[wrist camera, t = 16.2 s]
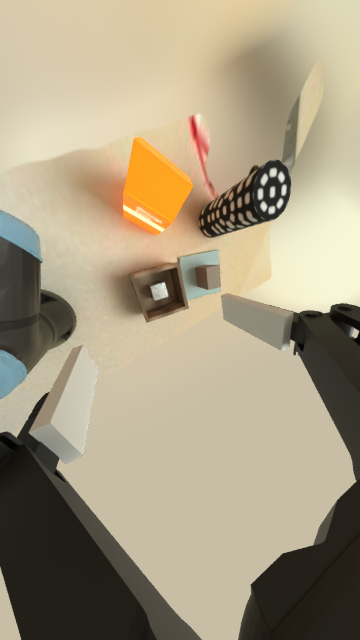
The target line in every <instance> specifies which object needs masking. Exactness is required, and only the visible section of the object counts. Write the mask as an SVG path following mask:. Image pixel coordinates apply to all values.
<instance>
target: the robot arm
mask: <svg viewBox="0 0 360 640" xmlns="http://www.w3.org/2000/svg"><path fill="white" fill-rule="evenodd" d="M41 263H43V260H42V258H41V253H40V239H39V236H38V234H37V233H36V232H35V230H34V229H33V228H31V227H30V226H29V225H28V224H26V223H25V222H23V221H21V220H20V219H18V218H16V217H14V216H12V215H10V214H8V213H6V212H4V211H2V210H0V399H2V398H3V397H5V396H7V395H8V394H9V393H10V392H11V391H12V390H13V389H15V388H16V387H17V386H18V385H19V384H21V383H22V382H23V381H24V380H25V379H26V377H27V374H28V373H29V372H30V371H31V370H32V369H33V368H34V366H35V365H36V364H37V363H38V362H39V361H40V359H41V358H42V357H43V356H44V355H45V354H46V352H47V351H48V350H50V349H52V348H55V347H57V346H59V345H61V344H63V343H64V342H65V341H67V340H68V339H69V337H70V336H71V335H72V333H73V332H74V330H75V327H76V316H75V313H74V311H73V309H72V307H71V306H70V305H69V304H68V303H67V302H66V301H65V300H64V299H63V298H61V297H60V296H58V295H56V294H54V293H52V292H49V291H46V290H42V289H41ZM221 298H222V308H223V318H224V320H226V321H228V322H230V323H231V324H233V325H235V326H237V327H238V328H240V329H242V330H244V331H246V332H248V333H250V334H251V335H253V336H255V337H257V338H259V339H261V340H263V341H264V342H266V343H268V344H270V345H271V346H273V347H275V348H277V349H279V350H281V351H282V350H284V349H286V348H288V347H289V346H290V339H291V340H293V341H295V345H294V355H296V352H298V355H299V356H300V357H301V359H302V361H303V363H304V365H305V367H306V369H307V371H308V373H309V375H310V377H311V378H312V381H313V383H314V385H315V387H316V389H317V391H318V393H319V394H320V396H321V398H322V400H323V402H324V404H325V406H326V408H327V410H328V412H329V414H330V416H331V418H332V420H333V421H334V424H335V426H336V427H337V429H338V431H339V433H340V435H341V437H342V439H343V441H344V443H345V445H346V447H347V449H348V451H349V453H350V455H351V458H352V463H353V471H354V475H355V478H356V481H357V482H356V483H354V484H353V485H352V486H351V488H349V489H348V490H347V491H346V492H345V493H344V494H343V495H342V496H341V497H340V498H339V499H338V500H337V502H336V503H335V504H334V506H333V507H332V509H331V510H330V512H329V513H328V515H327V516H326V518H325V519H324V521H323V522H322V524H321V525H320V527H319V530H318V533H317V536H316V539H315V542H314V545H313V546H309V547H305V548H302V549H298V550H294V551H291V552H287V553H283V554H282V555H281V556H280V557H279V558H278V559H277V560H276V561H275V562H274V563H273V564H271V565H270V566H269V567H268V568H267V570H265V571H264V572H263V573H262V574H261V575H260V576H259V577H258V578H257V579H256V580H255V581H254V582H253V583H252V584H251V596H250V598H249V600H248V603H247V605H246V608H245V612H244V615H243V618H242V622H241V627H240V633H239V639H238V640H360V307H358V306H355V305H349V304H343V303H341V304H335V305H332V306H331V309H330V312H329V313H322V312H319V311H302V312H300V313H296V312H293V311H289V310H286V309H281V308H279V307H275V306H272V305H267V304H263V303H260V302H256V301H253V300H249V299H246V298H242V297H239V296H235V295H232V294H228V293H227V294H224V295H221ZM354 328H355V329H357V330H359V334H358V337H357V338H354V337H352V334H353V331H354ZM97 376H98V368H97V367H96V365H95V363H94V362H93V360H92V359H91V357H90V355H89V354H88V352H87V350H86V349H85V347H84V345H81V346H78V347H76V348H73V349H72V351H71V353H70V355H69V356H68V358H67V360H66V362H65V364H64V366H63V368H62V370H61V372H60V374H59V375H58V377H57V379H56V381H55V383H54V385H53V387H52V389H51V391H50V392H48V393H46V394H45V395H44V396H43V397H42V398H41V399H40V400H39V401H38V402H37V404H36V405H35V407H34V409H33V412H32V413H31V414H30V416H29V418H28V420H27V421H26V423H25V424H24V426H23V428H22V430H21V431H20V433H19V435H18V437H17V438H16V437H15V436H13V435H12V434H11V433H9V432H2V433H0V567H1V571H2V574H3V577H4V581H5V584H6V588H7V591H8V594H9V598H10V602H11V605H12V609H13V612H14V616H15V619H16V623H17V626H18V629H19V633H20V636H21V640H202V639H201V638H200V637H199V636H198V635H197V634H196V633H195V632H194V630H193V629H192V628H191V627H190V626H189V625H188V624H187V623H185V622H184V621H183V620H182V619H181V618H180V617H179V616H178V615H177V614H176V613H175V611H174V610H173V609H172V608H171V607H170V606H169V605H168V603H167V602H166V601H165V600H164V598H163V597H162V596H161V595H160V593H159V592H158V591H157V590H156V589H155V587H154V586H153V585H152V584H151V582H150V581H149V580H148V579H147V578H146V576H145V575H144V574H143V573H142V571H141V570H140V569H139V568H138V567H137V565H136V564H135V563H134V562H133V560H132V559H131V558H130V557H129V556H128V555H127V553H126V552H125V551H124V549H123V548H122V547H121V546H120V545H119V543H118V542H117V541H116V540H115V538H114V537H113V536H112V535H111V534H110V533H109V531H108V530H107V529H106V528H105V526H104V525H103V524H102V523H101V521H100V520H99V519H98V518H97V517H96V515H95V514H94V513H93V512H92V511H91V509H90V508H89V507H88V506H87V505H86V503H85V502H84V501H83V499H81V497H80V496H79V495H78V494H77V492H76V491H75V490H74V489H73V488H72V486H71V485H70V484H69V482H68V481H67V480H66V479H65V478H64V476H63V475H62V474H61V473H60V472H59V471H58V470H57V469H56V467H57V464H58V461H59V459H60V460H62V462H64V463H65V464H68V463H70V462H72V461H73V460H75V459H77V458H79V457H81V456H83V453H84V447H85V442H86V436H87V430H88V425H89V420H90V414H91V409H92V403H93V397H94V392H95V387H96V381H97Z"/></svg>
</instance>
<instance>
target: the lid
mask: <svg viewBox="0 0 360 640" xmlns="http://www.w3.org/2000/svg"><path fill="white" fill-rule="evenodd" d="M179 264H180V269H181V274H182V279H183V283H184V288H185V293H186V298H187V300H191V299H194V298H198V297H202V296H205V295H209V294H212V293H216V292H220V291H221V282H220V266H219V250H215V251H210V252H205V253H200V254H195V255H190V256H185V257H180V258H179Z"/></svg>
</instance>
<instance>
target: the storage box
mask: <svg viewBox="0 0 360 640" xmlns="http://www.w3.org/2000/svg"><path fill="white" fill-rule="evenodd" d="M129 275H130V278H131V281H132V284H133V287H134V289H135V292H136V295H137V298H138V301H139V303H140V306H141V309H142V312H143V315H144V317H145V320H146V323H147V322H150V321H153V320H156V319H159V318H162V317H165V316H168V315H170V314H173V313H176V312H179V311H182V310H185V309H188V308H189V307H188V303H187V298H186V293H185V288H184V283H183V279H182V274H181V269H180V264H179V263H168V264H164V265H160V266H157V267H153V268H149V269H145V270H141V271H137V272H134V273H130V274H129ZM159 281H163V282H165V285H166V289H167V293H168V297H165V298H162V299H159V300H156V301H154V299H153V298H152V295H151V292H150V289H149V286H148V284H152V283H155V282H159Z"/></svg>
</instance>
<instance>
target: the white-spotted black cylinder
mask: <svg viewBox="0 0 360 640" xmlns="http://www.w3.org/2000/svg"><path fill="white" fill-rule="evenodd" d="M290 192H291V179H290V174H289V171H288V169H287V167H286V166H285V164H284V163H282V162H281V161H279V160H271V161H269V162H267V163H265V164H264V165H263V166H261V167H260V168H258V169H257V170H256V171H254V172H253V173H251V174H250V175H249V176H247V177H246V178H244V179H243V180H242V181H240V182H239V183H237V184H236V185H235V186H233V187H232V188H230V189H229V190H227V191H226V192H225V193H223V194H222V195H220V196H219V197H218V198H216V199H215V200H213V201H212V202H210V203H209V204H208V205H206V206H205V207H204V208H203V209H202V211H201V213H200V216H199V226H200V229H201V231H202V233H203V234H204V235H205V236H207V237H210V238H213V237H217V236H220V235H224V234H227V233H230V232H234V231H237V230H241V229H244V228H247V227H251V226H254V225H258V224H261V223H264V222H268V221H271V220H274V219H276V218H277V217H279V216H280V215H281V214H282V212H283V211H284V210H285V208H286V206H287V203H288V201H289V197H290Z"/></svg>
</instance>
